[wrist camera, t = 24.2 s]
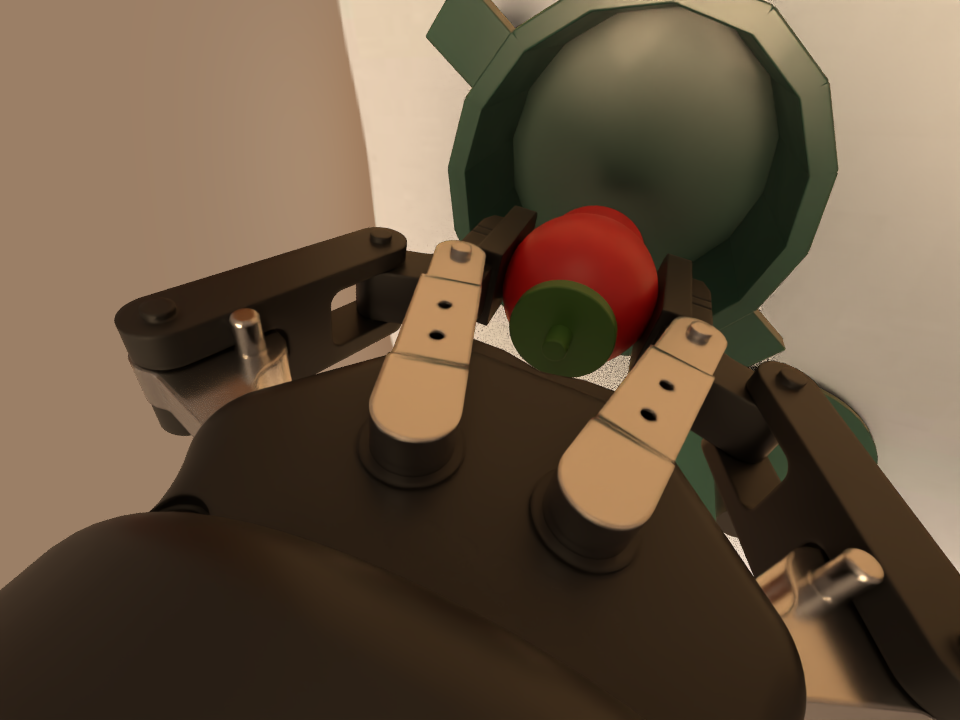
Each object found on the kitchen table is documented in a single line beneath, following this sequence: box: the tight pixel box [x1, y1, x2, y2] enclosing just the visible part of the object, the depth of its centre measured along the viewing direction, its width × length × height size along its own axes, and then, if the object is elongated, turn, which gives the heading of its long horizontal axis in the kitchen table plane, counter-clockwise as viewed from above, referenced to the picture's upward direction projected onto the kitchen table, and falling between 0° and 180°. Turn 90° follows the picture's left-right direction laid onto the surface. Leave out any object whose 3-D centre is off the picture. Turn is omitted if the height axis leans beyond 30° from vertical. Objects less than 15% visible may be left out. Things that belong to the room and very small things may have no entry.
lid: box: [675, 388, 878, 538], centre depth 30 cm, size 15×15×6 cm
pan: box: [426, 0, 838, 367], centre depth 21 cm, size 14×20×8 cm
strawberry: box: [503, 206, 658, 378], centre depth 12 cm, size 4×4×6 cm
